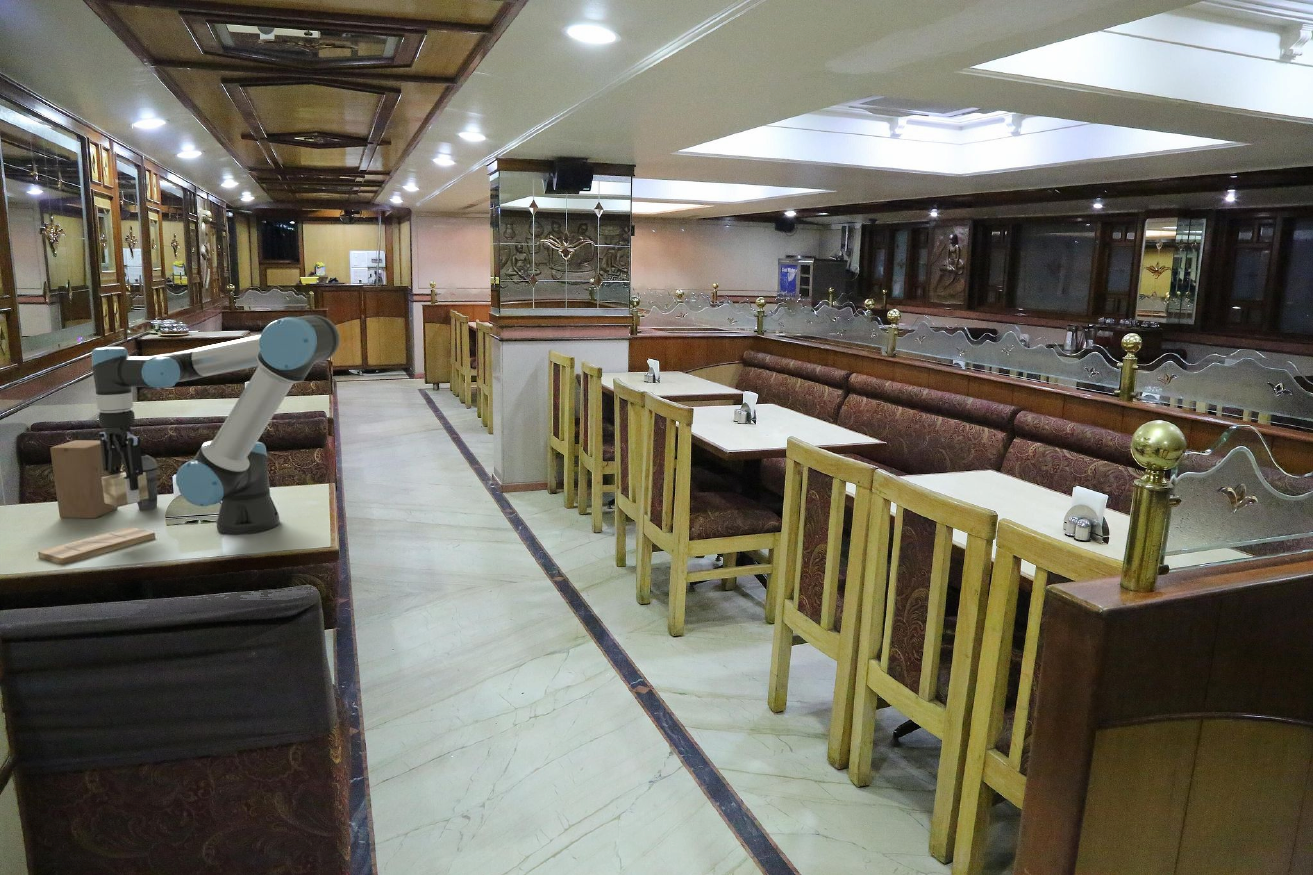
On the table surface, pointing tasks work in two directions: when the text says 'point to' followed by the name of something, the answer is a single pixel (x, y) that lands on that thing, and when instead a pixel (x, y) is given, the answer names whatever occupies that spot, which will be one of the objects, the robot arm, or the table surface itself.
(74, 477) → the wooden block
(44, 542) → the table surface
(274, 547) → the table surface
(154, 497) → the beverage cup
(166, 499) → the table surface
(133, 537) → the board
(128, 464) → the robot arm
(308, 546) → the table surface
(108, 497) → the block
